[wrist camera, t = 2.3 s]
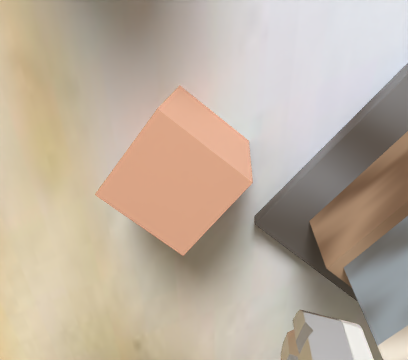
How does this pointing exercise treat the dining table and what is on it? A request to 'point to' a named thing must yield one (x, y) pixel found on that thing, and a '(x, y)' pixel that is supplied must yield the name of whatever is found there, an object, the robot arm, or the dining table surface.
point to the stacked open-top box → (357, 214)
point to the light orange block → (180, 172)
